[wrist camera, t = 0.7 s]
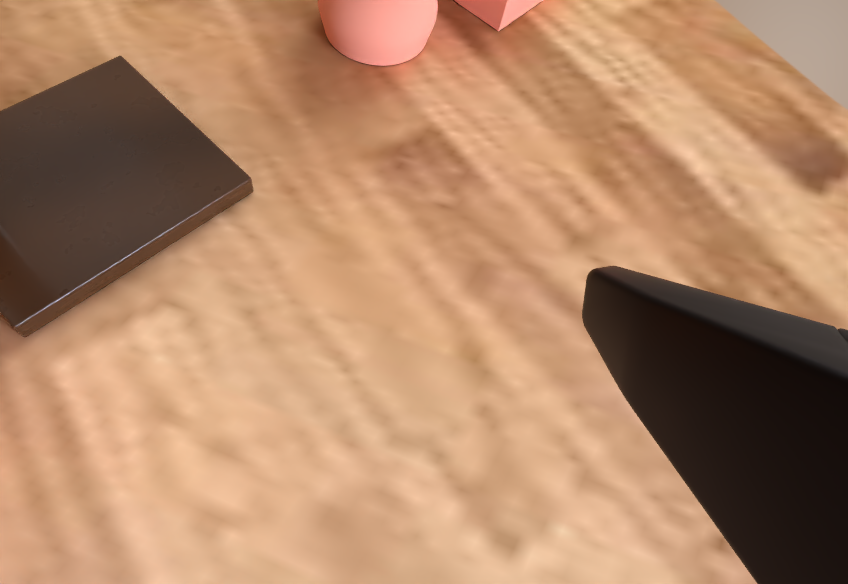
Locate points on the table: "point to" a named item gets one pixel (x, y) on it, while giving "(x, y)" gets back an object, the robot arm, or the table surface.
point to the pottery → (400, 25)
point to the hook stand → (98, 188)
